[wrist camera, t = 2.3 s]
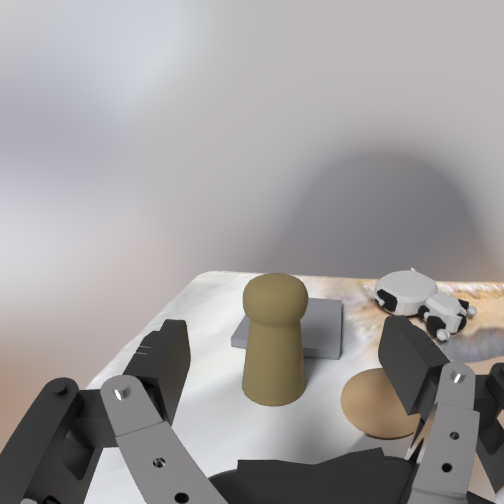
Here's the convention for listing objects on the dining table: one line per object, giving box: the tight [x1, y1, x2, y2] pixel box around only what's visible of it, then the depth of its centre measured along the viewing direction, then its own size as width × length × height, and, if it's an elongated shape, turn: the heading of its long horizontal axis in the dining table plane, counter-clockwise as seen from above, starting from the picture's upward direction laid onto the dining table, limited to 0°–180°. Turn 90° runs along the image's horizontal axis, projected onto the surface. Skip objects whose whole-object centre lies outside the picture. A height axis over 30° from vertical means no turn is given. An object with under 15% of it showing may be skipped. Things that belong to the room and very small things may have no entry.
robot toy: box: [364, 268, 477, 340], centre depth 35 cm, size 12×4×15 cm
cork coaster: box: [341, 368, 420, 440], centre depth 22 cm, size 9×9×1 cm
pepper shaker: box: [242, 273, 308, 406], centre depth 24 cm, size 6×6×11 cm
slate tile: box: [231, 298, 342, 360], centre depth 36 cm, size 12×12×1 cm
